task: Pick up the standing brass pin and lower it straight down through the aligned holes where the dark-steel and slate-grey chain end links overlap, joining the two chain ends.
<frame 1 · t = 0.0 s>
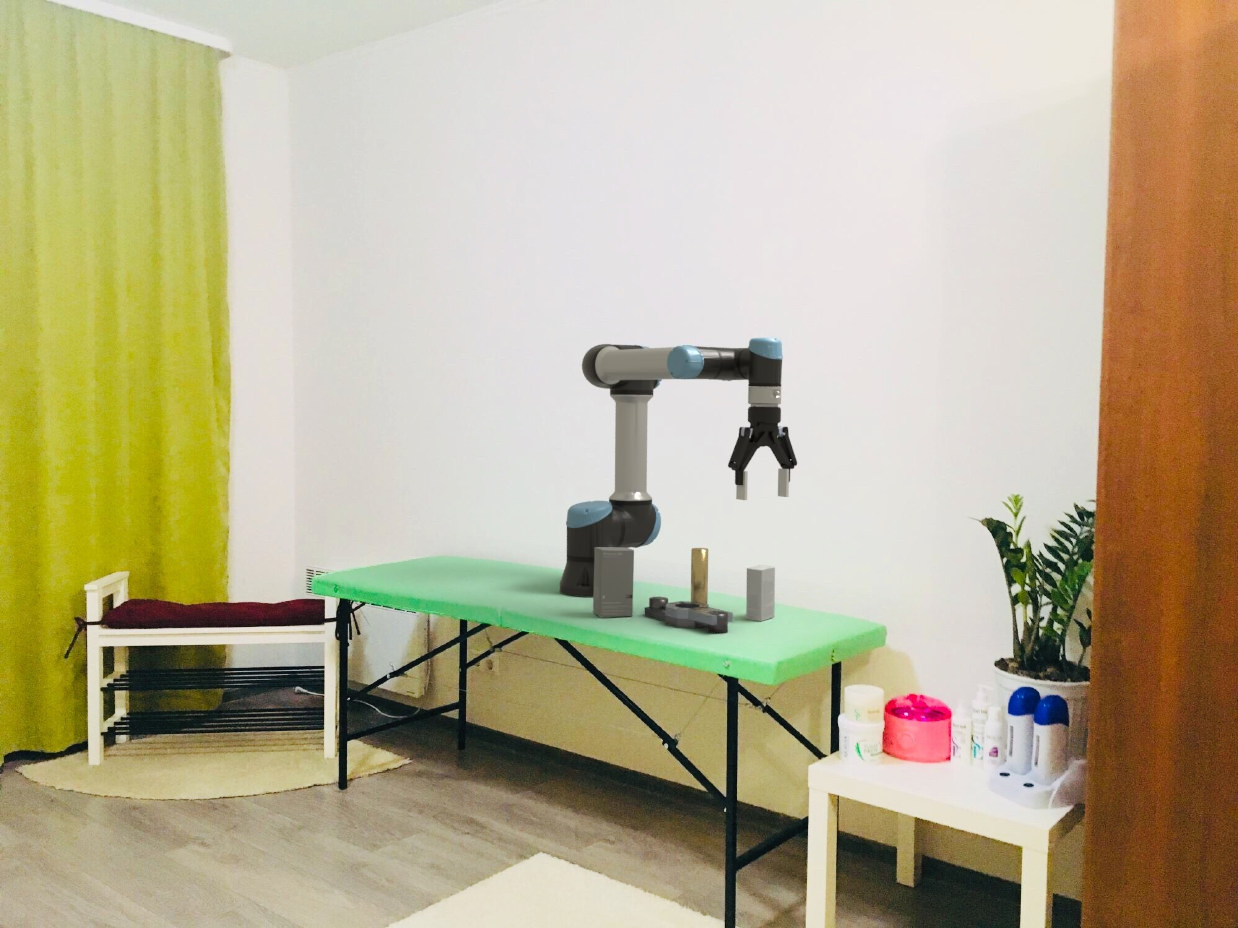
hand: (762, 498, 236), 28 cm above the table, fingers open, 13 cm apart
brass pin: (698, 611, 245), on the table
skincare box 2: (760, 619, 237), on the table
chain ends: (687, 622, 232), on the table
skincare box: (613, 615, 240), on the table
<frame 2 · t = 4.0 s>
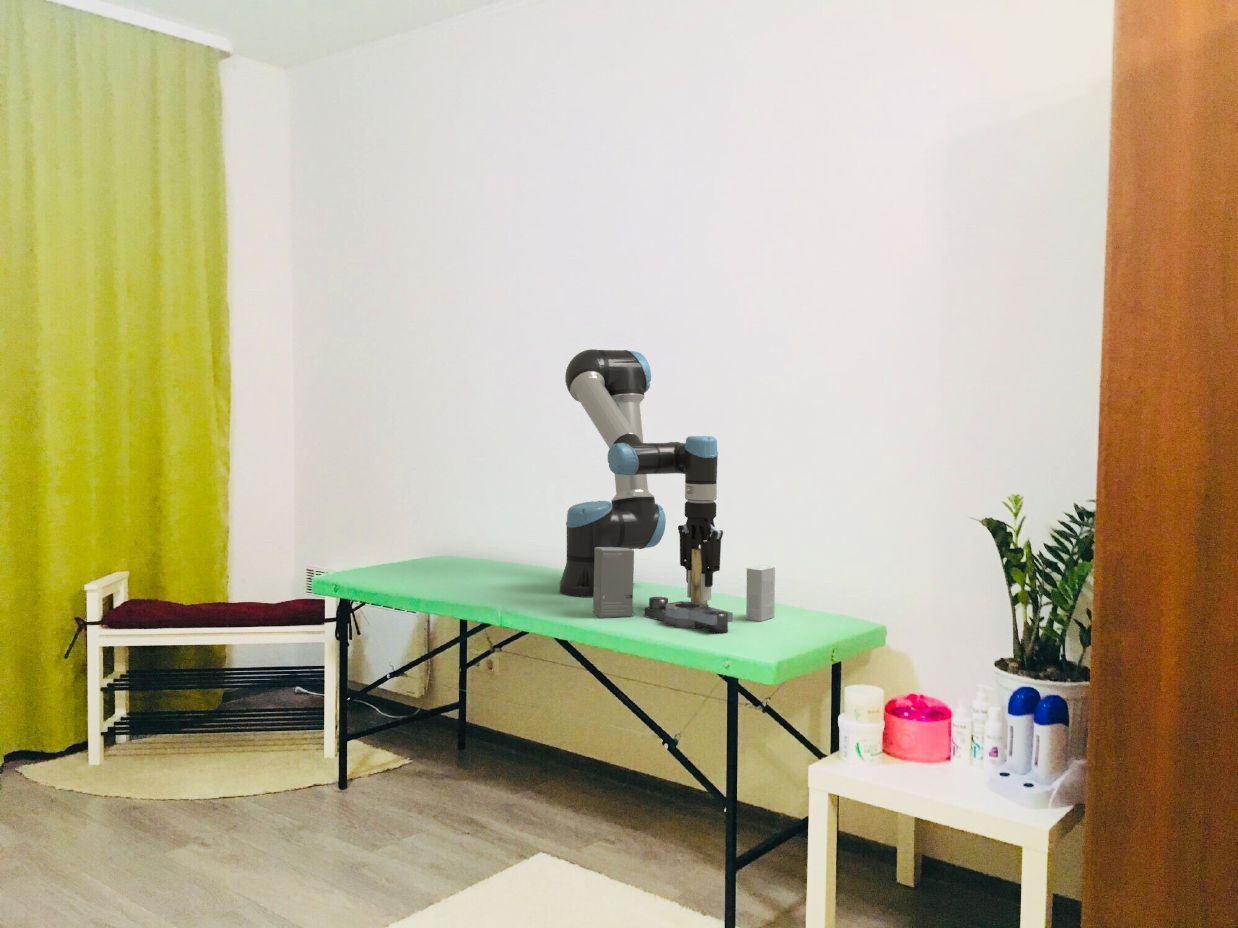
hand: (699, 598, 244), 3 cm above the table, fingers closed on brass pin, 4 cm apart
brass pin: (698, 611, 245), on the table, touching gripper
everything else where it was.
when the fingers open (6 cm above the table, at t = 10.3 s): brass pin drops 1 cm, resting in chain ends.
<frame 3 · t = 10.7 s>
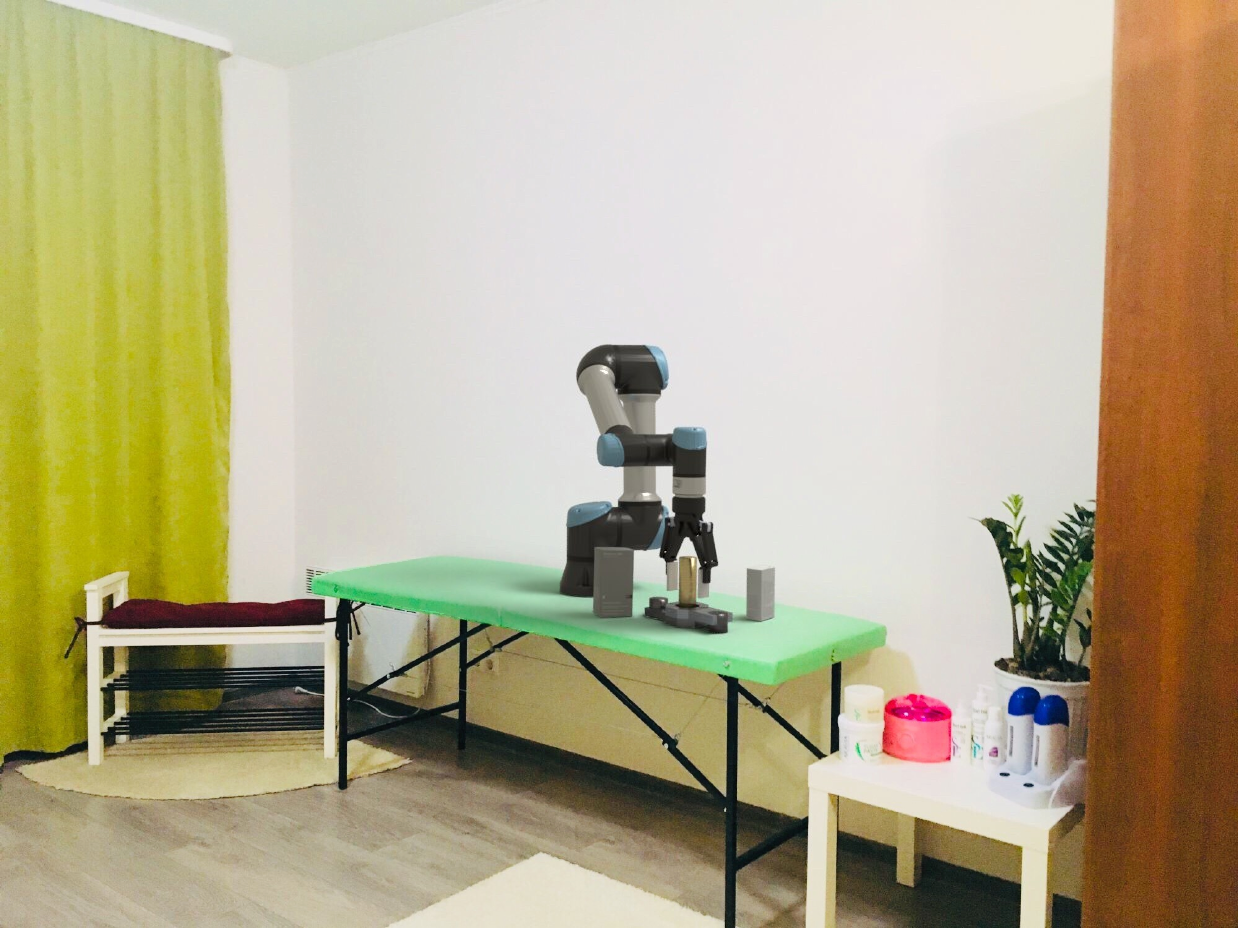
hand: (687, 593, 231), 7 cm above the table, fingers open, 10 cm apart
brass pin: (687, 623, 232), resting in chain ends
everything else where it was.
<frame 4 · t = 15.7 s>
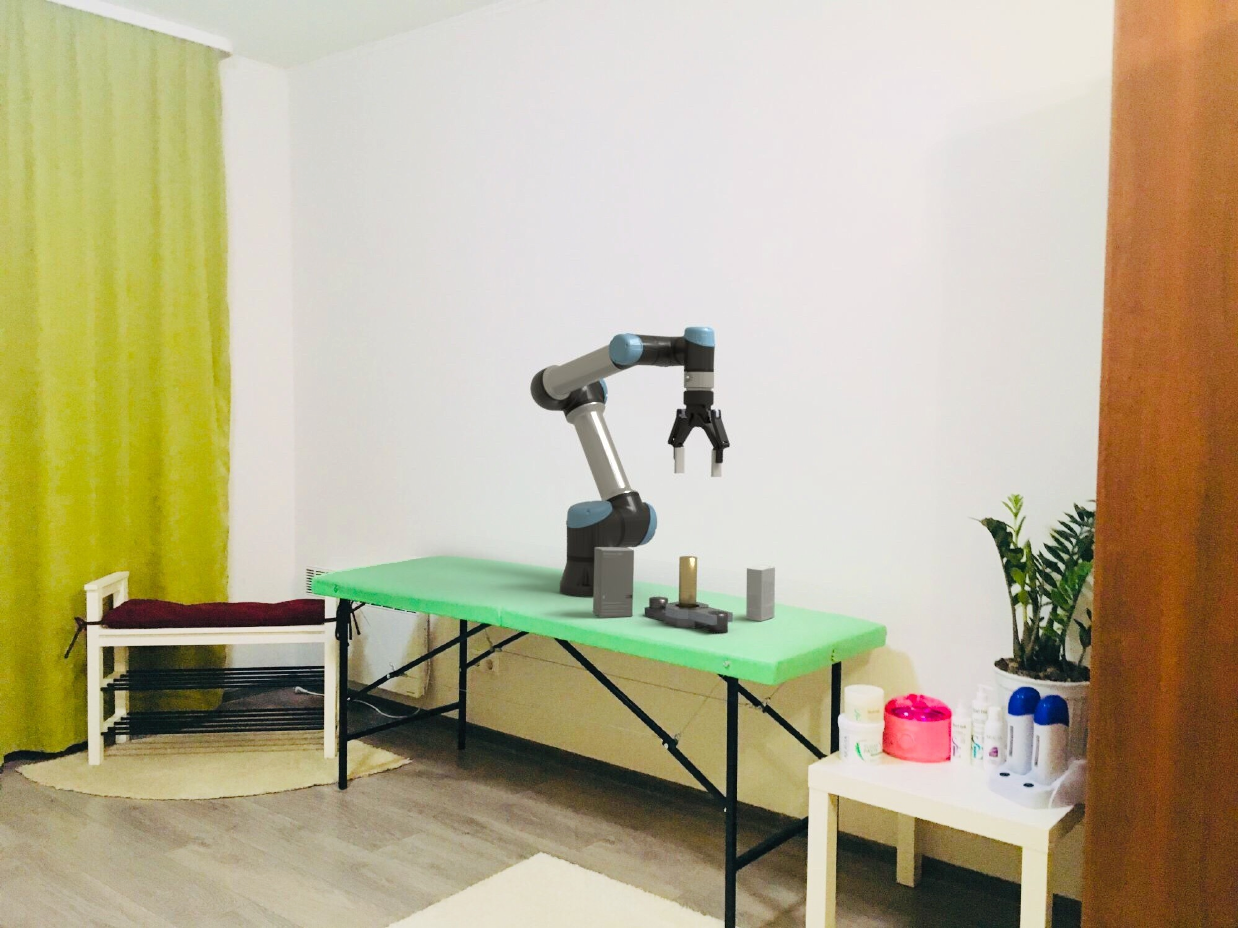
hand: (697, 475, 255), 32 cm above the table, fingers open, 13 cm apart
nothing on the table moved.
at the end: brass pin 0.0 cm off-centre on the chain ends, point 0.0 cm above the chain ends's base; brass pin tilted 0°; the gripper is holding nothing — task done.
